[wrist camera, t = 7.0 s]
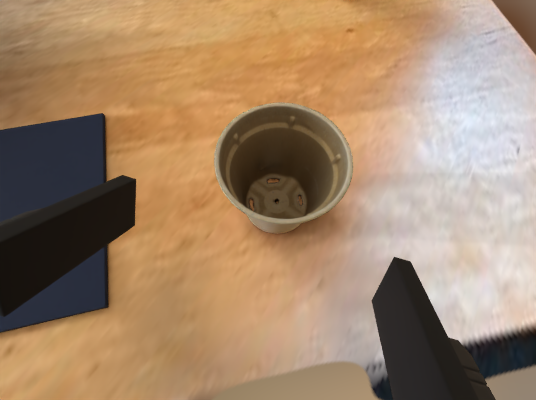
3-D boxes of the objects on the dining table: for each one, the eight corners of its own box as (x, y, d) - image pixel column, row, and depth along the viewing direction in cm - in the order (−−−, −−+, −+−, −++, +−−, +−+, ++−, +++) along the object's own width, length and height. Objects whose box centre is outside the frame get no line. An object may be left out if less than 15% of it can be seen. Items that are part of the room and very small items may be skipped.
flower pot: (291, 145, 29) (302, 83, 21) (345, 218, 26) (382, 178, 18) (211, 187, 27) (190, 136, 19) (260, 270, 24) (259, 252, 16)
